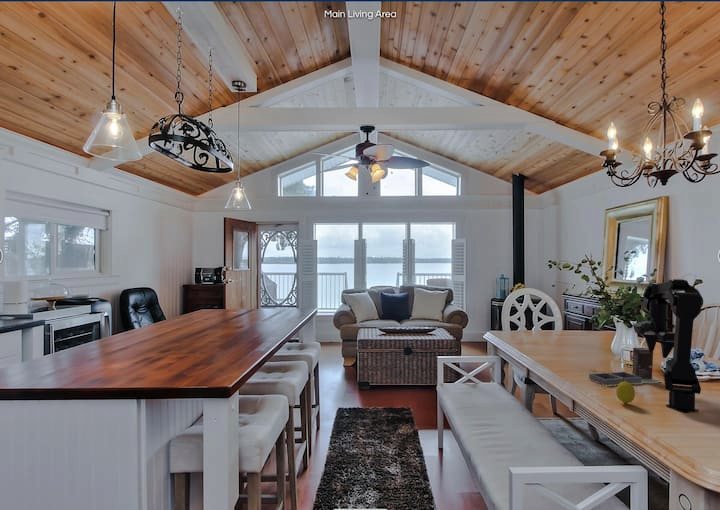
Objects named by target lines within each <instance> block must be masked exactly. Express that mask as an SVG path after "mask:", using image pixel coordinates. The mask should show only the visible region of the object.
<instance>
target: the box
mask: <svg viewBox="0 0 720 510" xmlns="http://www.w3.org/2000/svg"><path fill="white" fill-rule="evenodd" d="M632 349H633V350H632V373H631V374H633V375H636V376H639V377H642V378H648V379H652V378H653V366H654V365H653V364H654V363H653V362H654V351H653V352H652V353H651V352H649V349H648V347H633V348H632Z"/></svg>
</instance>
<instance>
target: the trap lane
mask: <svg viewBox="0 0 720 510" xmlns="http://www.w3.org/2000/svg"><path fill="white" fill-rule="evenodd" d="M588 375H589V378H588V380H589V381H593V382H594V381H595V383H597V382H598V383H597V384H600V383H601V384H600V385H602V384H604V385H603V386H605V385H607V386H606V387H610V386H609V385H618V384H619V383H621V382H624V381H627V382H628V383H630V384H635V385H643V383H649V384H660V383H659V382H663V381H662V380H660V379H658V378H654V377H652V379H648V378H642V377H639V376H636V375H633V374H632V373H628V372H626V371H616V372H600V373H599V372H598V373H589V374H588Z"/></svg>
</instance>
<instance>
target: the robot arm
mask: <svg viewBox="0 0 720 510" xmlns="http://www.w3.org/2000/svg"><path fill="white" fill-rule="evenodd" d="M642 296H643V300H642V302H641V308H642V309H643V310H644V311H646V312H648V313H649V316H646V317H645V320H643V321H639V322H636V323H634V324H632V327H633V330H634V333H636V334H639V335H640V336H642V337H643V338H644V339H645V343H646V345H647V348H648V349H649V352H651V353H652V352H653V353H654V351H655V347H656V346H657V345H656V344H657V341H658V342H659V344H660V345H661V347H660V348H661V355H662V358H663V359H667V358H668V356H669V355H670V353H671V352H673V354H672V357H671V359H667V360H666V361H665V364H666V365H665V370H664V371H663V374H662V375H663V381H664V386H665V387H664V388H665V390H667V391H668V393H669V394H668V404H665V406H666V407H667V408H670V409H672V410H675V411H678V412H681V413H685V414H686V413H696V412H699V411H700V410H699V409H698V408H696V394H698V395H700V394H701V391H702V388H701V385H700V382H699V379H698V376H697V373H696V372H697V371H696V369H695V367H694V365H693V364H692V362H691V356H692V355H691V354H692V344H693V332H694V321H695V319H696V318H698V316H699V315H700V314H701V312H702V307H703V306H704V298H703V297H702V294H701V293H700V291H699V290H698V288H696V287H694V286H693V285H690V284H689V282H688V280H687V279H686V280H685V279H679V278H678V279H676V278H675V279H674V278H673V279H668V280H667V281H664V282H649V283H648V285H646V286H645V289H644V292H643V294H642ZM669 304H670V310H671V311H672V313H673V314H674V315H675V324H674V325H675V326H674V331H671V329H669V328H668V322H670V321H671V319H670V318H668V305H669ZM672 350H673V351H672Z"/></svg>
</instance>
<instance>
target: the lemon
mask: <svg viewBox="0 0 720 510" xmlns="http://www.w3.org/2000/svg"><path fill="white" fill-rule="evenodd" d="M635 391H636V390H635V388H634V385H631V384H630V383H628V382H627V381H624V382H621V383H619V384H618V386H616V390H615V392H616V393H615V394H616V397H617V398H618V400H620V401H621V402H622V403H623V404H625V405H627V404H629V403H631V402H633V401H634V400H635V397H636V392H635Z"/></svg>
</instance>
